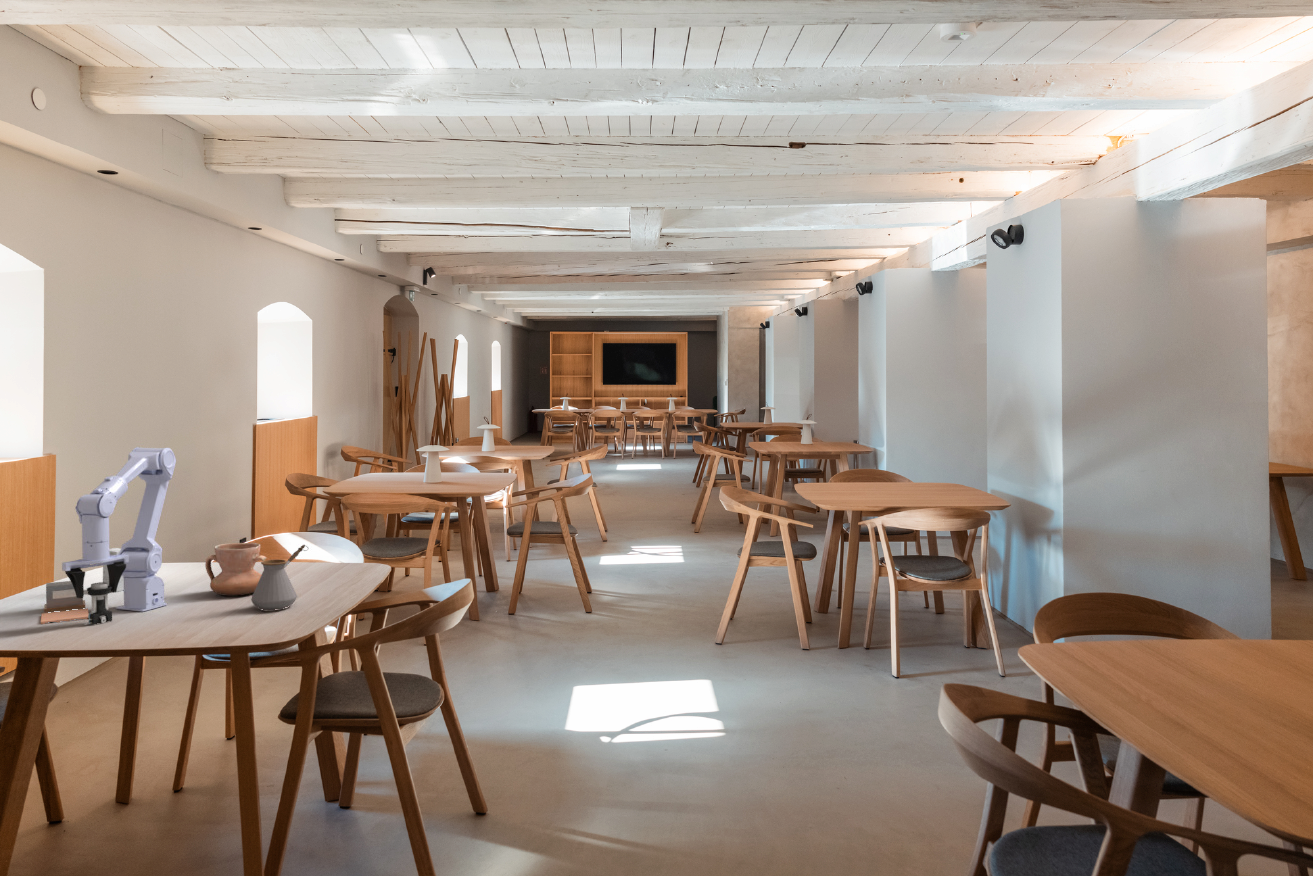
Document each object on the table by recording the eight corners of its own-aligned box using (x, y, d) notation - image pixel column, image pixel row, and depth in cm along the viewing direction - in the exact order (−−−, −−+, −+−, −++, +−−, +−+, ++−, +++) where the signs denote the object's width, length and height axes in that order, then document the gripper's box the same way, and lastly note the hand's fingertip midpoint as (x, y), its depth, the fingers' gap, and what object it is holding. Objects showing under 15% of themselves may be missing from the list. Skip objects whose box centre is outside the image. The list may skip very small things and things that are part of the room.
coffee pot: (281, 614, 224) (281, 558, 223) (242, 612, 226) (241, 556, 225) (324, 595, 245) (323, 544, 244) (287, 594, 247) (287, 543, 246)
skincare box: (101, 590, 248) (101, 549, 248) (116, 587, 252) (116, 547, 252) (115, 592, 246) (114, 551, 245) (130, 589, 250) (129, 549, 250)
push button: (91, 627, 209) (90, 588, 208) (77, 625, 211) (76, 585, 210) (117, 621, 215) (116, 582, 214) (103, 619, 217) (102, 580, 216)
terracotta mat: (88, 618, 217) (88, 616, 217) (40, 624, 211) (40, 622, 211) (87, 610, 225) (87, 608, 225) (41, 615, 219) (41, 613, 219)
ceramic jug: (278, 588, 254) (278, 541, 253) (251, 599, 239) (251, 550, 239) (221, 586, 255) (221, 540, 254) (191, 597, 241) (191, 548, 240)
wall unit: (85, 608, 227) (84, 583, 226) (44, 613, 222) (43, 587, 221) (84, 604, 232) (84, 579, 231) (44, 608, 226) (44, 583, 226)
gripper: (118, 536, 220) (119, 587, 221) (55, 543, 208) (56, 598, 208) (132, 538, 216) (133, 591, 217) (69, 546, 204) (70, 601, 205)
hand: (96, 594), depth 212 cm, fingers open, 7 cm apart
